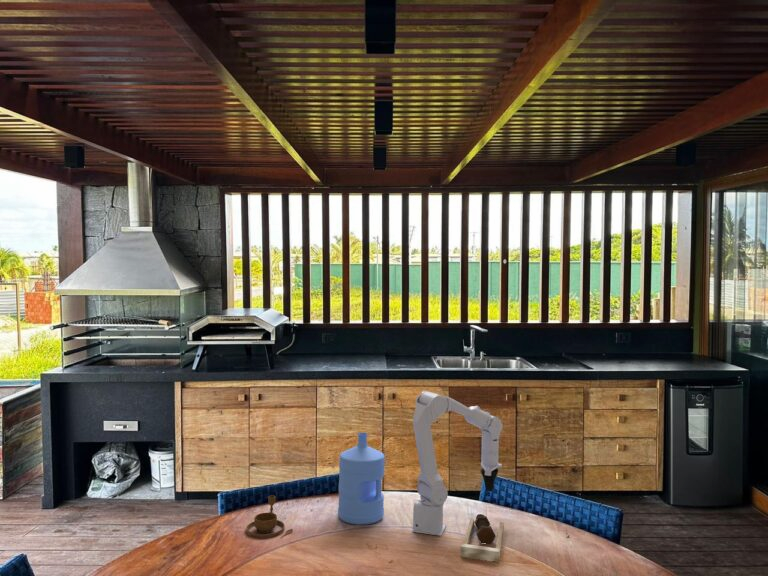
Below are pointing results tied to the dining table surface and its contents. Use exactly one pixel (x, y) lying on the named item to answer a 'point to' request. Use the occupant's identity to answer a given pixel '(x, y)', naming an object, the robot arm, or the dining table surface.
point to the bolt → (484, 529)
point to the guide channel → (481, 551)
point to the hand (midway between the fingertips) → (489, 490)
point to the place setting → (267, 523)
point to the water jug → (361, 484)
